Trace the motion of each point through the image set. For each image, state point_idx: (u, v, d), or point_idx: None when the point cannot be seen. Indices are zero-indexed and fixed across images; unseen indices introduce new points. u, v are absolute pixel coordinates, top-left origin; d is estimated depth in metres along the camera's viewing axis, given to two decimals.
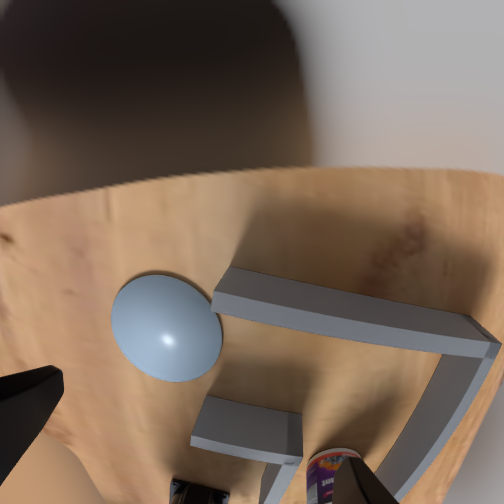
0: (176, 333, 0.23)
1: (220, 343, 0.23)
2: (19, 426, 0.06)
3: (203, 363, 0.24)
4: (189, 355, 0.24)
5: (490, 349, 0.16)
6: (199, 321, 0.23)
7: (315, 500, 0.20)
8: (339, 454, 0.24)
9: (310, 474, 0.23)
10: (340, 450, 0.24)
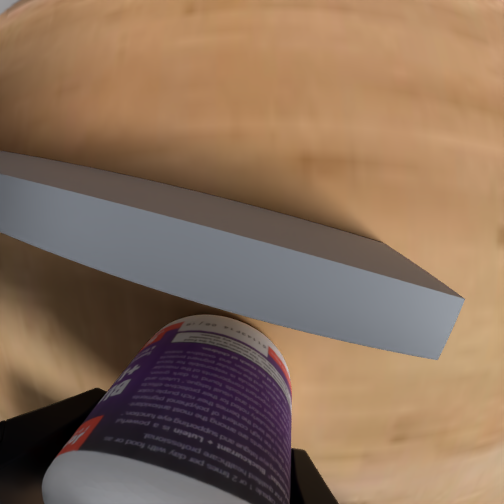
0: None
1: None
2: None
3: None
4: None
5: None
6: None
7: None
8: None
9: None
10: None
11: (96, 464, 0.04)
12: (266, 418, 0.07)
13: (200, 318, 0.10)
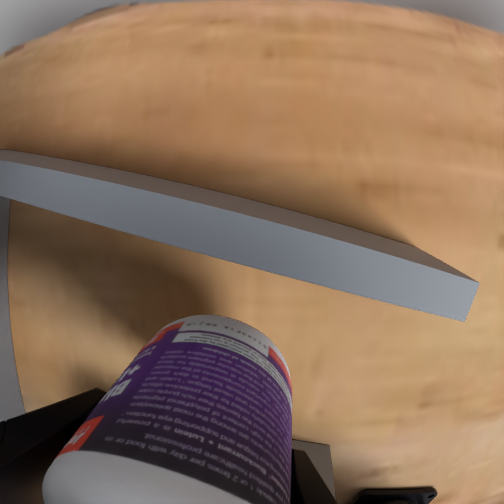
0: None
1: None
2: None
3: None
4: None
5: None
6: None
7: None
8: None
9: None
10: None
11: (97, 464, 0.04)
12: (266, 417, 0.07)
13: (200, 318, 0.10)
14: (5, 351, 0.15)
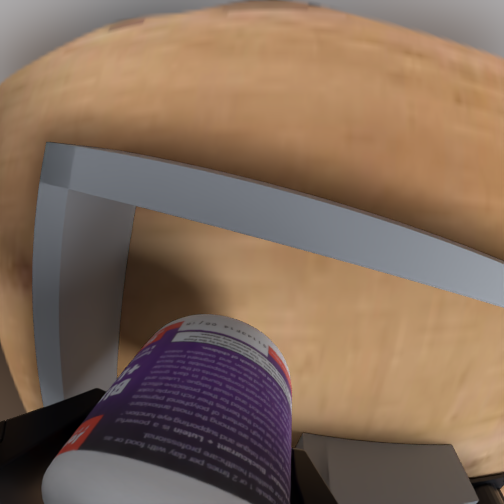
0: None
1: None
2: None
3: None
4: None
5: (52, 175, 0.08)
6: None
7: None
8: None
9: None
10: None
11: (96, 464, 0.04)
12: (266, 417, 0.07)
13: (200, 317, 0.10)
14: None
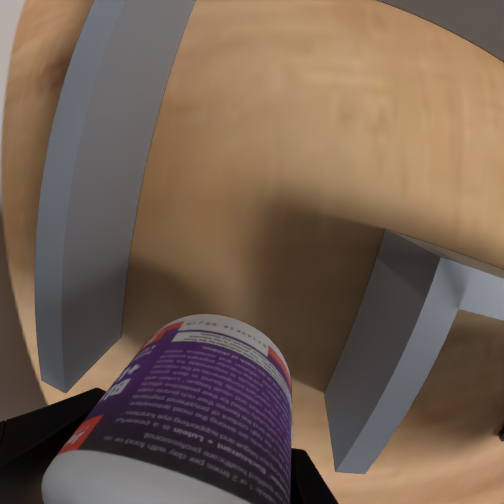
0: None
1: None
2: None
3: None
4: None
5: None
6: None
7: None
8: None
9: None
10: None
11: (96, 463, 0.04)
12: (266, 417, 0.07)
13: (199, 317, 0.10)
14: (133, 188, 0.12)
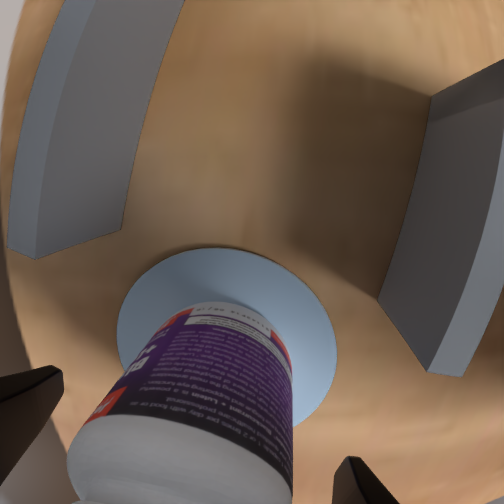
0: None
1: (237, 253, 0.11)
2: (19, 426, 0.06)
3: (288, 296, 0.11)
4: (270, 321, 0.12)
5: None
6: (189, 289, 0.12)
7: None
8: None
9: None
10: None
11: (124, 424, 0.05)
12: (270, 388, 0.08)
13: (208, 304, 0.11)
14: (158, 42, 0.09)
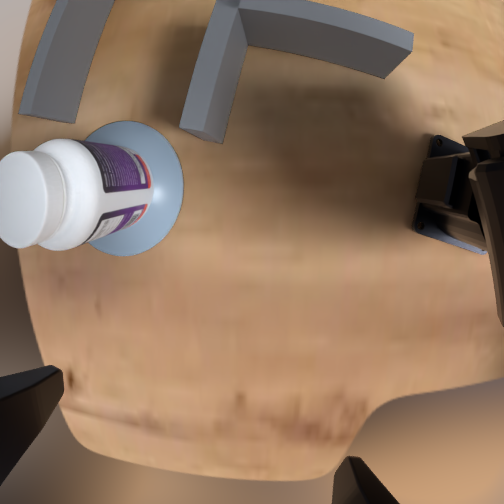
0: None
1: (127, 122, 0.19)
2: (19, 426, 0.06)
3: (151, 140, 0.19)
4: None
5: None
6: None
7: None
8: None
9: None
10: None
11: None
12: (115, 154, 0.15)
13: None
14: (96, 30, 0.17)
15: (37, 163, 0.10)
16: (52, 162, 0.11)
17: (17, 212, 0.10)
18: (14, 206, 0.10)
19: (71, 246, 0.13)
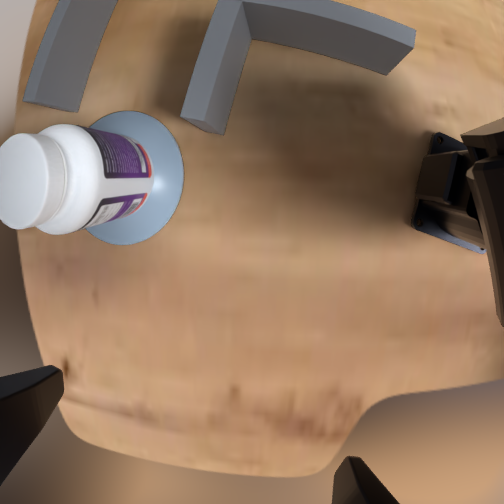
0: None
1: (129, 112, 0.19)
2: (19, 426, 0.06)
3: (153, 130, 0.19)
4: (144, 146, 0.19)
5: None
6: None
7: None
8: None
9: None
10: None
11: None
12: (117, 141, 0.15)
13: None
14: (101, 21, 0.17)
15: (40, 145, 0.10)
16: (55, 145, 0.11)
17: (18, 193, 0.10)
18: (15, 187, 0.10)
19: (70, 230, 0.13)
